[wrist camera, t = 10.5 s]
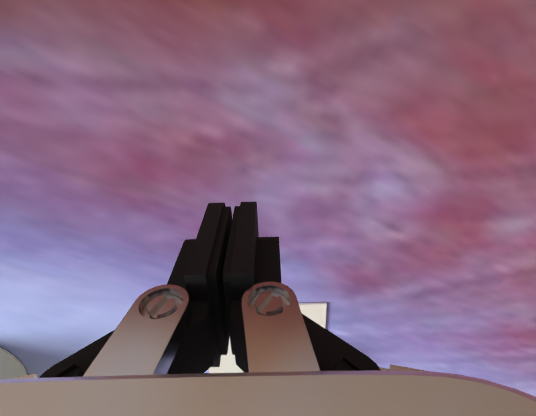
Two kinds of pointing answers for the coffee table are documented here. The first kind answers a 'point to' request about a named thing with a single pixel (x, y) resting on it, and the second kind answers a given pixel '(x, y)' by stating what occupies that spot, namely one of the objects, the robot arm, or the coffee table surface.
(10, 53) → the coffee table surface
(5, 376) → the can
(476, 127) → the coffee table surface
